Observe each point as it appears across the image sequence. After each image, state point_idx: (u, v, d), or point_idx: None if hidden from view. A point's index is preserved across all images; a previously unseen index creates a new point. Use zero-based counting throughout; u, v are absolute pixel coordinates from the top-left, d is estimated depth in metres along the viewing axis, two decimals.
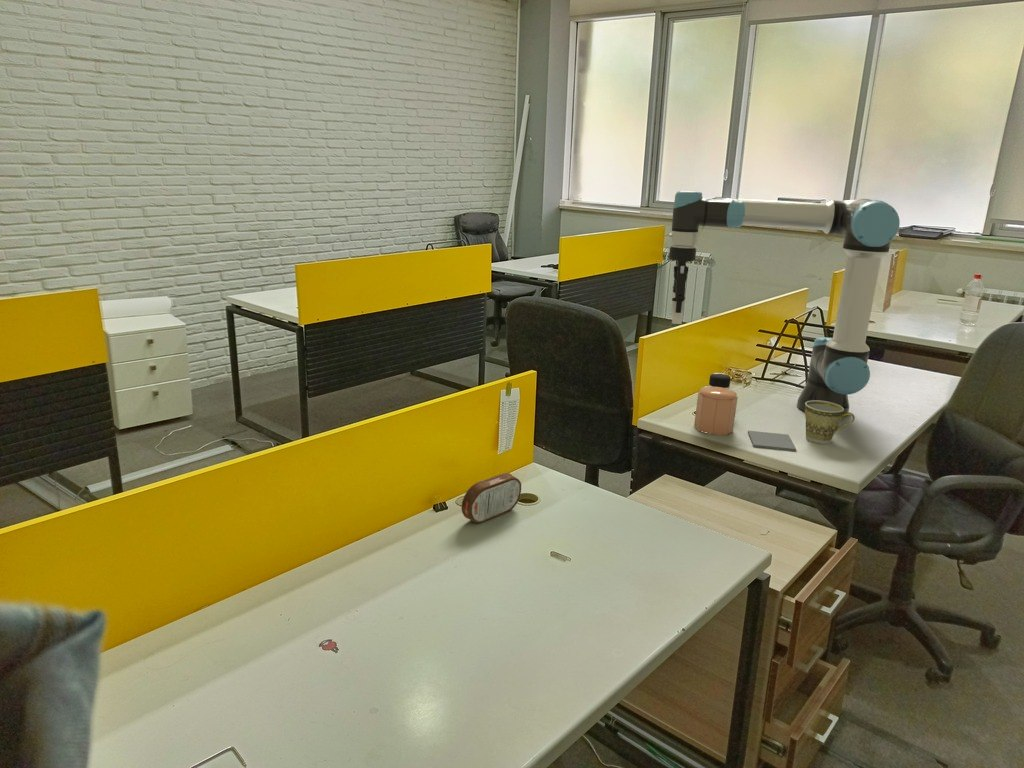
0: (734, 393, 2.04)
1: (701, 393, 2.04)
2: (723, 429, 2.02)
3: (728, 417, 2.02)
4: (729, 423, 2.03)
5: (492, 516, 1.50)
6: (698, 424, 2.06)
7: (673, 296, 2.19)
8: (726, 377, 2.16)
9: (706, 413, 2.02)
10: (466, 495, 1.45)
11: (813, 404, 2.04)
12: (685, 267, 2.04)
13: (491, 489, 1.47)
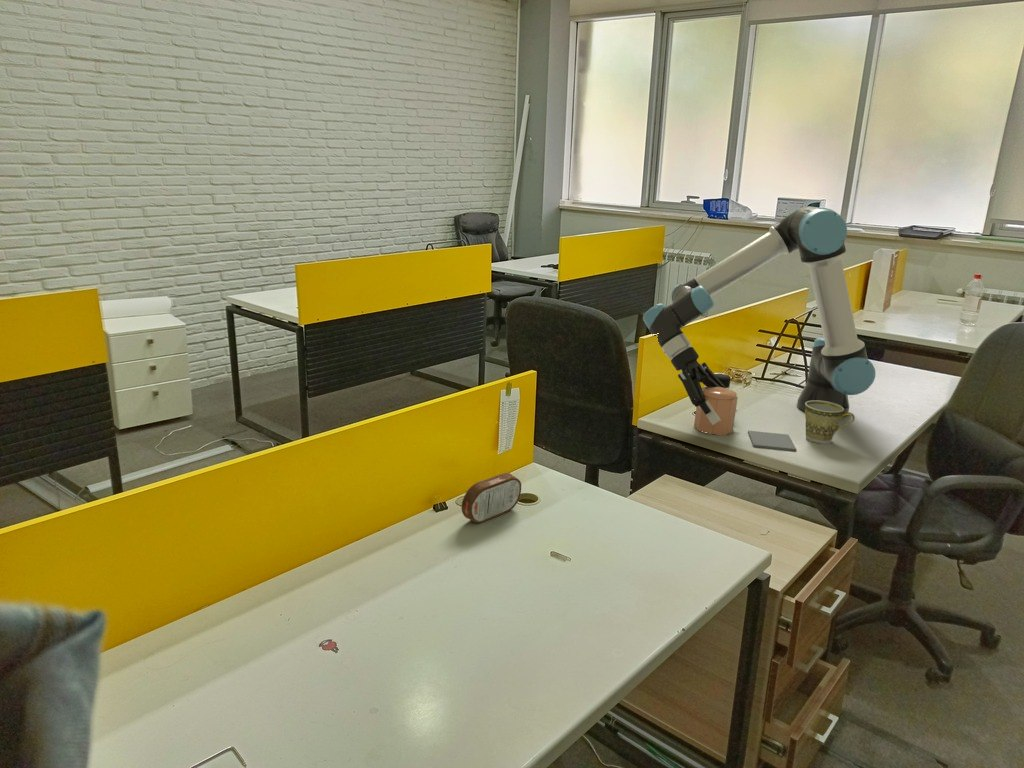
0: (734, 393, 2.04)
1: None
2: (723, 429, 2.02)
3: (728, 417, 2.02)
4: (729, 423, 2.03)
5: (492, 516, 1.50)
6: (698, 424, 2.06)
7: None
8: (726, 377, 2.16)
9: None
10: (466, 495, 1.45)
11: (813, 404, 2.05)
12: (683, 372, 2.03)
13: (491, 489, 1.47)
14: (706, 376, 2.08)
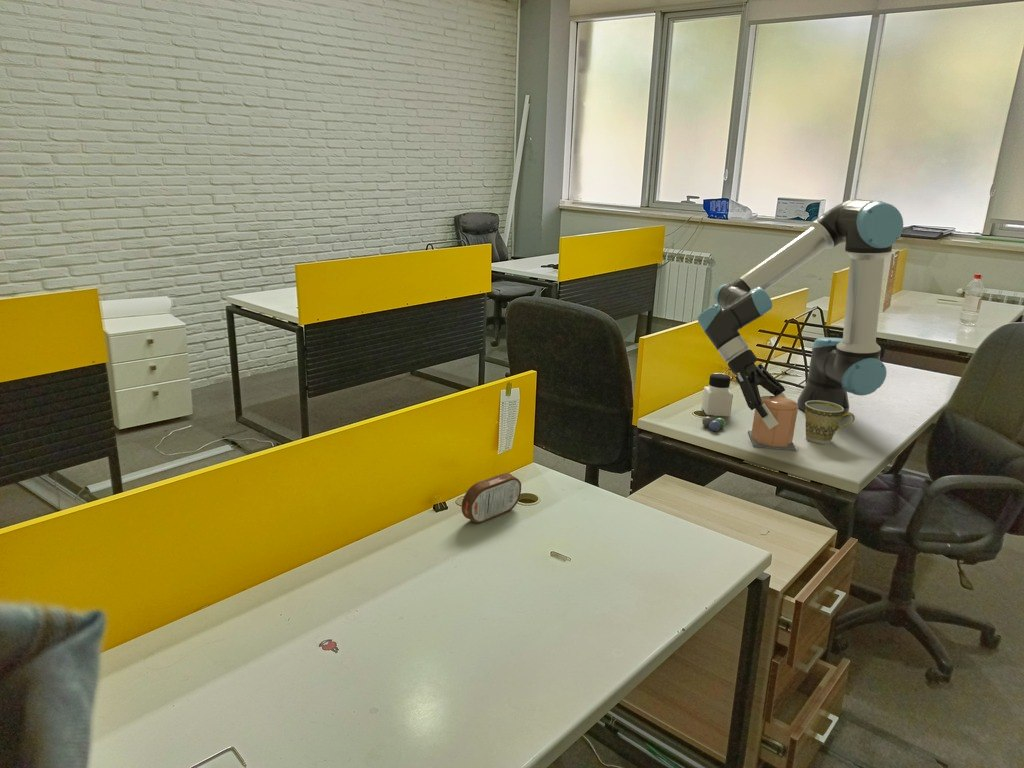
0: (794, 403, 1.96)
1: None
2: (783, 440, 1.94)
3: (789, 428, 1.94)
4: (790, 434, 1.95)
5: (492, 516, 1.50)
6: (756, 435, 1.98)
7: None
8: (726, 377, 2.16)
9: (765, 424, 1.95)
10: (466, 495, 1.45)
11: (813, 404, 2.05)
12: (741, 374, 1.94)
13: (490, 489, 1.47)
14: (765, 379, 2.00)
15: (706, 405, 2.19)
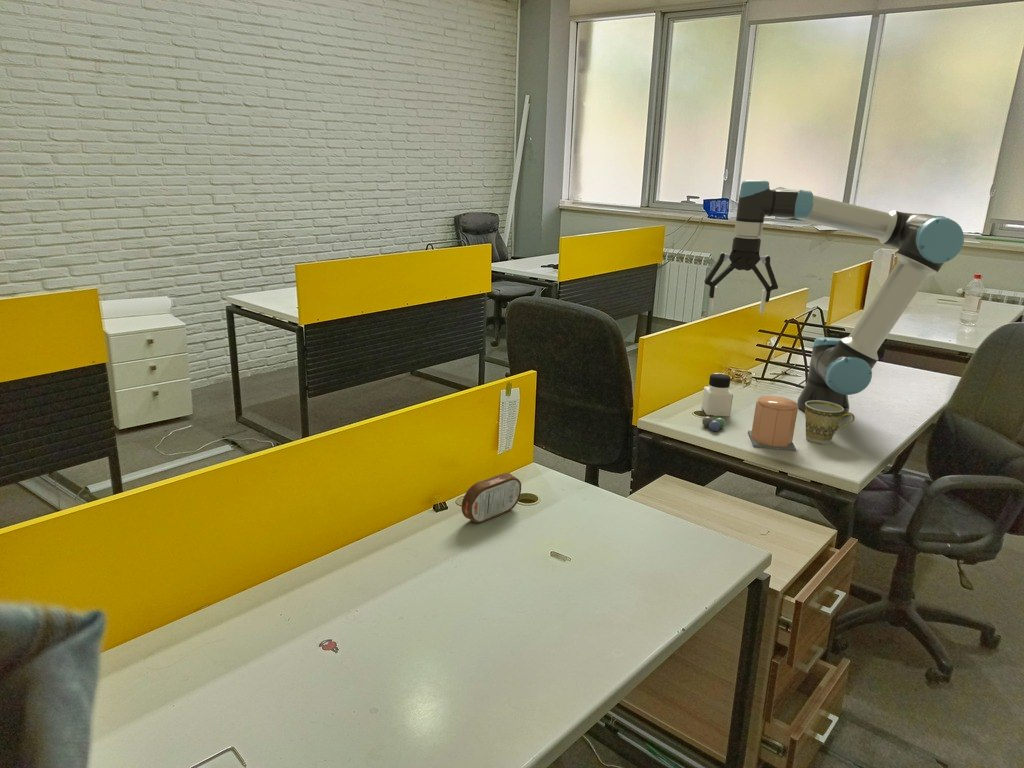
0: (794, 403, 1.96)
1: (760, 403, 1.96)
2: (783, 440, 1.94)
3: (789, 428, 1.94)
4: (790, 434, 1.95)
5: (492, 516, 1.50)
6: (756, 435, 1.98)
7: (762, 293, 2.09)
8: (726, 377, 2.16)
9: (765, 424, 1.95)
10: (466, 495, 1.45)
11: (813, 404, 2.04)
12: (721, 254, 2.06)
13: (490, 489, 1.47)
14: (754, 271, 2.06)
15: (706, 405, 2.19)
